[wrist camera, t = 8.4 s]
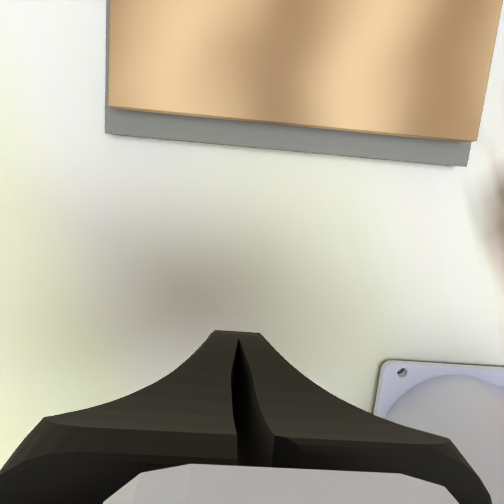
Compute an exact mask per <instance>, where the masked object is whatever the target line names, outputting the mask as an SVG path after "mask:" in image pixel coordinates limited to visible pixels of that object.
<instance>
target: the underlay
mask: <svg viewBox="0 0 504 504" xmlns="http://www.w3.org/2000/svg"><path fill="white" fill-rule="evenodd" d="M109 50H110V0H107V5H106V92H105V133H108V134H115V135H125V136H136V137H147V138H158V139H169V140H179V141H190V142H201V143H212V144H223V145H233V146H244V147H255V148H266V149H277V150H287V151H298V152H309V153H320V154H331V155H341V156H352V157H363V158H374V159H384V160H395V161H406V162H417V163H428V164H438V165H449V166H465V167H467V162H468V157H469V151H470V146H471V142H454V141H444V140H434V139H423V138H413V137H402V136H392V135H382V134H371V133H361V132H351V131H340V130H330V129H319V128H309V127H299V126H288V125H278V124H267V123H257V122H247V121H236V120H226V119H216V118H205V117H195V116H184V115H174V114H164V113H153V112H143V111H132V110H122V109H115V108H113V107H111V106H109V105H108V100H109Z"/></svg>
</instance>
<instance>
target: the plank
mask: <svg viewBox="0 0 504 504" xmlns="http://www.w3.org/2000/svg"><path fill="white" fill-rule="evenodd" d="M502 3H503V0H110V50H109V100H108V105H109V106H111V107H113V108H115V109H122V110H132V111H143V112H153V113H164V114H174V115H184V116H195V117H205V118H216V119H226V120H236V121H247V122H257V123H267V124H278V125H288V126H299V127H309V128H319V129H330V130H340V131H351V132H361V133H371V134H382V135H392V136H402V137H413V138H423V139H434V140H444V141H454V142H472V141H477V137H478V132H479V126H480V121H481V116H482V110H483V105H484V100H485V94H486V89H487V84H488V78H489V73H490V67H491V62H492V57H493V51H494V46H495V41H496V35H497V30H498V25H499V19H500V14H501V8H502Z"/></svg>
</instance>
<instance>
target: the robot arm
mask: <svg viewBox="0 0 504 504" xmlns="http://www.w3.org/2000/svg"><path fill="white" fill-rule="evenodd" d="M401 368H404V371H403V372H402V373H400V374H398V373H397V372H398V370H399V369H401ZM0 504H504V367H493V366H478V365H462V364H446V363H430V362H414V361H398V360H389V361H386V362H385V363H384V364H383V365H382V367H381V371H380V377H379V383H378V389H377V395H376V401H375V406H374V412H373V414H371V413H369V412H366V411H364V410H362V409H359V408H357V407H355V406H353V405H351V404H349V403H347V402H345V401H343V400H341V399H339V398H338V397H336V396H334V395H332V394H331V393H329V392H327V391H326V390H324V389H323V388H321V387H320V386H318V385H316V384H315V383H313V382H312V381H311V380H309V379H308V378H307V377H305V376H304V375H303V374H302V373H300V372H299V371H298V370H297V369H295V368H294V367H293V366H292V365H291V364H290V363H289V362H287V361H286V360H285V359H284V358H283V357H282V356H281V355H280V354H279V353H278V352H277V351H276V350H275V349H274V348H273V347H272V346H271V345H270V343H269V342H268V341H267V340H266V339H265V338H264V337H263V336H262V335H261V334H260V333H252V332H237V331H221V330H215V331H213V332H212V333H211V334H210V336H209V337H208V338H207V340H206V341H205V342H204V343H203V344H202V345H201V347H200V348H199V349H198V350H197V351H196V352H195V353H194V354H193V355H192V356H191V357H190V358H189V359H187V360H186V361H185V362H184V363H183V364H181V365H180V366H179V367H178V368H177V369H176V370H174V371H173V372H171V373H170V374H169V375H167V376H165V377H164V378H162V379H160V380H159V381H157V382H155V383H153V384H151V385H149V386H147V387H145V388H143V389H141V390H139V391H137V392H134V393H132V394H130V395H128V396H125V397H123V398H120V399H117V400H114V401H111V402H108V403H105V404H102V405H98V406H95V407H91V408H88V409H83V410H79V411H74V412H69V413H64V414H60V415H55V416H49V417H44V418H43V419H42V420H41V421H40V422H39V423H38V425H37V426H36V427H35V428H34V429H33V430H32V431H31V432H30V433H29V434H28V435H27V437H26V438H25V439H24V440H23V441H22V443H21V444H20V445H19V446H18V448H17V449H16V450H15V451H14V453H13V454H12V455H11V457H10V458H9V459H8V461H7V462H6V463H5V465H4V466H3V467H2V469H1V470H0Z"/></svg>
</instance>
